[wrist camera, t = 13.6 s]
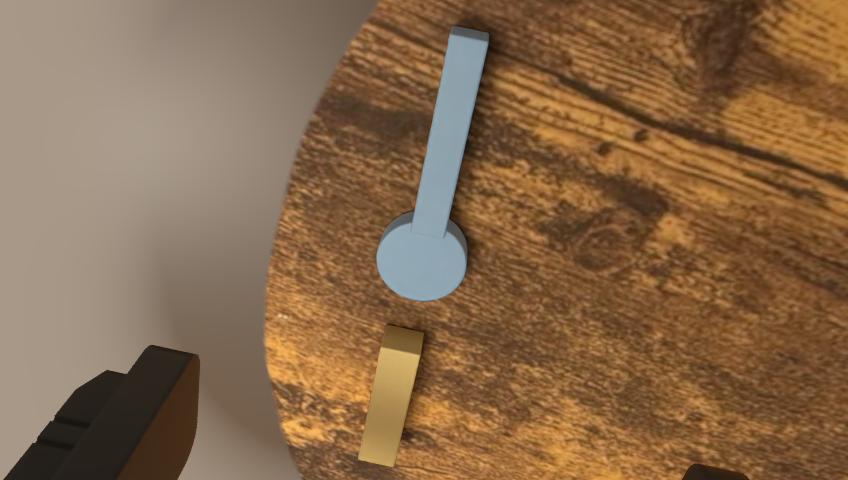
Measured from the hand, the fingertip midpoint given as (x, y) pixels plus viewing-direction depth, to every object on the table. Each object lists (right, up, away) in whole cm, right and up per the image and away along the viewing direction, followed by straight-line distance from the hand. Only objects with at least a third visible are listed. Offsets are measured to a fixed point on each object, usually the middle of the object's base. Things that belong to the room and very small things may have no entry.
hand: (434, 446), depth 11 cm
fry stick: (-2, -4, +22) cm, 23 cm away
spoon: (+1, +7, +17) cm, 18 cm away
